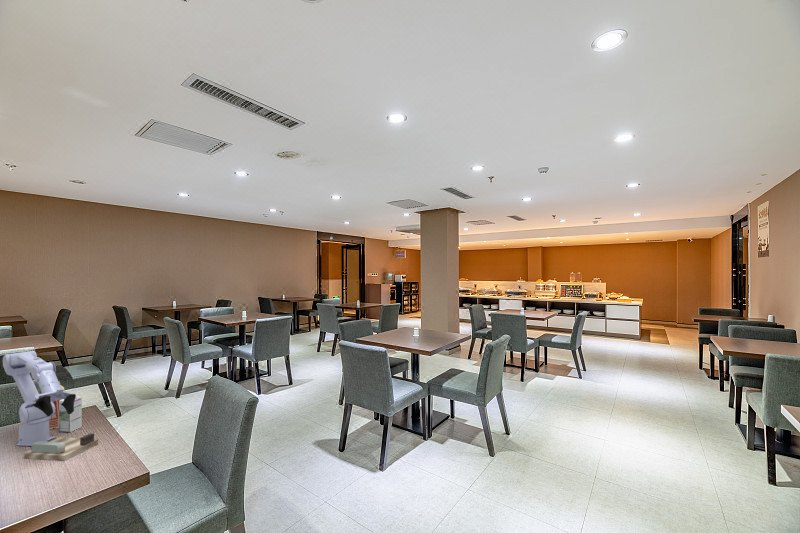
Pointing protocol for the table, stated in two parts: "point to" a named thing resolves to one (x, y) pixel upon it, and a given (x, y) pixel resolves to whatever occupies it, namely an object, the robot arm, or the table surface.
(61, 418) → the syrup box
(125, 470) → the table surface
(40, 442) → the stool leg
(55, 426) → the milk carton
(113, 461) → the table surface
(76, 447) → the stool seat
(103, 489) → the table surface
